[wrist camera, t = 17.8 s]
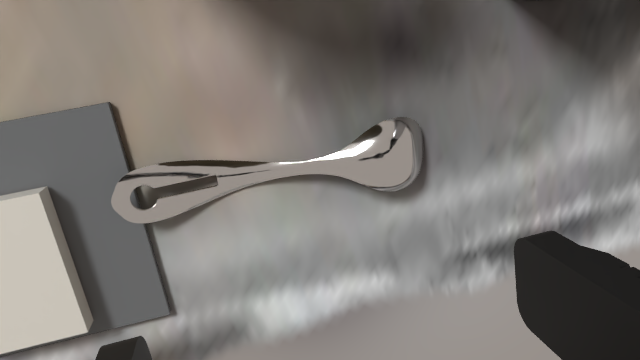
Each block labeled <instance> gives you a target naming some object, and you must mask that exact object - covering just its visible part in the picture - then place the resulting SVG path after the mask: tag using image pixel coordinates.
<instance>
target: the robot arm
mask: <svg viewBox="0 0 640 360" xmlns="http://www.w3.org/2000/svg"><path fill="white" fill-rule="evenodd" d="M538 1H539V0H538ZM514 259H515V275H516V291H517V304H518V308H519V312H520V314H521V317H522V319H523V321H524V322H525V324H526V326H527V327H528V328H529V329H530V330H531V331H532V332H533V333H534V334H535V335H536V336H537V337H538V338H539V339H540V340H542V342H544V343H545V344H546V345H547V346H548V347H549V348H550V349H551V350H552V351H553V352H554V353H555V354H557V355H558V356H559V357H560V358H561V359H562V360H640V270H638V269H637V268H634V267H630V266H629V264H627V263H625V262H624V261H622V260H620V259H618V258H616V257H614V256H612V255H611V254H609V253H605V252H602V251H598V250H595V249H591V248H588V247H584V246H580V245H578V244H576V243H575V242H573V241H571V240H569V239H567V238H566V237H564V236H562V235H560V234H559V233H557V232H555V231H547V232H543V233H539V234H535V235H531V236H528V237H524V238H520V239H518V240H517V241H516V243H515V246H514ZM95 360H152V357H151V354H150V351H149V348H148V346H147V343H146V341H145V339H144V338H143V337H142V336H139V337H135V338H131V339H127V340H123V341H119V342H115V343H112V344H108V345H104V346H102V347H101V348H100V349H99V352H98V354H97V357H96V359H95Z"/></svg>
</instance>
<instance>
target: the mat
mask: <svg viewBox="0 0 640 360" xmlns="http://www.w3.org/2000/svg"><path fill="white" fill-rule="evenodd" d="M129 172H130V169H129V166H128V162H127V159H126V155H125V152H124V149H123V145H122V142H121V138H120V135H119V131H118V128H117V125H116V121H115V118H114V114H113V111H112V107H111V104H110V102H107V103H102V104H97V105H91V106H86V107H80V108H75V109H69V110H64V111H59V112H53V113H48V114H42V115H37V116H31V117H26V118H21V119H15V120H10V121H4V122H0V196H2V195H7V194H12V193H16V192H21V191H26V190H31V189H36V188H41V187H46V186H47V187H48V190H49V193H50V196H51V199H52V202H53V205H54V207H55V210H56V213H57V216H58V219H59V222H60V225H61V228H62V231H63V233H64V236H65V239H66V242H67V245H68V248H69V251H70V254H71V257H72V259H73V262H74V265H75V268H76V271H77V274H78V277H79V280H80V282H81V285H82V288H83V291H84V294H85V297H86V300H87V303H88V306H89V308H90V311H91V314H92V317H93V322H92V325H91V327H90V329H89V331H88V333H84V334H80V335H75V336H71V337H67V338H63V339H59V340H55V341H51V342H47V343H43V344H39V345H35V346H31V347H27V348H23V349H19V350H15V351H11V352H7V353H3V354H0V357H2V356H6V355H10V354H14V353H18V352H22V351H26V350H30V349H34V348H38V347H42V346H46V345H50V344H54V343H58V342H62V341H66V340H70V339H74V338H78V337H82V336H86V335H90V334H94V333H98V332H102V331H106V330H110V329H114V328H118V327H122V326H126V325H130V324H134V323H138V322H142V321H146V320H150V319H154V318H158V317H162V316H166V315H170V312H171V310H170V306H169V303H168V300H167V296H166V293H165V289H164V286H163V282H162V279H161V276H160V272H159V269H158V265H157V262H156V258H155V255H154V252H153V248H152V245H151V241H150V238H149V234H148V231H147V228H146V224H145V223H143V224H139V223H132V222H129V221H127V220H125V219H124V218H123V217H122V216H120V215H119V214H118V213H117V212H116V211H115V210H114V209H113V207H112V205H111V196H112V193H113V190H114V188H115V185H116V183H117V182H118V181H119V179H120V178H122V177H123V176H124V175H126V174H127V173H129ZM131 202H132V204H133V205H134V206H135V207H137V208H139V209H141V207H140V204H139V200H138V197H137V193H136V190H135V189H134V190H133V191H132V193H131Z"/></svg>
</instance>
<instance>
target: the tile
mask: <svg viewBox="0 0 640 360" xmlns="http://www.w3.org/2000/svg"><path fill="white" fill-rule="evenodd" d="M92 322H93V317H92V314H91V311H90V308H89V306H88V303H87V300H86V297H85V294H84V291H83V288H82V285H81V282H80V280H79V277H78V274H77V271H76V268H75V265H74V262H73V259H72V257H71V254H70V251H69V248H68V245H67V242H66V239H65V236H64V233H63V231H62V228H61V225H60V222H59V219H58V216H57V213H56V210H55V207H54V205H53V202H52V199H51V196H50V193H49V190H48V187H47V186H46V187H41V188H36V189H31V190H26V191H21V192H16V193H12V194H7V195H2V196H0V354H3V353H7V352H11V351H15V350H19V349H23V348H27V347H31V346H35V345H39V344H43V343H47V342H51V341H55V340H59V339H63V338H67V337H71V336H75V335H80V334H84V333H88V331H89V329H90V327H91V325H92Z"/></svg>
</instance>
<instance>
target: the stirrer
mask: <svg viewBox="0 0 640 360" xmlns="http://www.w3.org/2000/svg"><path fill="white" fill-rule="evenodd" d="M422 163H423V136H422V131H421V128H420V126H419V124H418V123H417V122H416V121H415V120H414V119H411V118H407V117H397V118H392V119H388V120H385V121H383V122H380V123H378V124H377V125H375V126H373V127H372V128H370V129H369V130H367V131H366V132H365V133H363V134H362V135H361V136H359V137H358V138H357V139H356V140H354V141H353V142H352V143H351V144H349V145H348V146H346V147H345V148H343V149H342V150H340V151H338V152H336V153H334V154H332V155H329V156H326V157H323V158H319V159H315V160H309V161H301V162H251V161H224V160H193V161H175V162H166V163H159V164H153V165H149V166H145V167H141V168H138V169H136V170H133V171H131V172H129V173H127V174H126V175H124V176H123V177H122V178H120V179H119V181H118V182H117V183H116V185H115V188H114V190H113V193H112V196H111V205H112V207H113V209H114V210H115V211H116V212H117V213H118V214H119V215H120V216H122V217H123V218H124V219H125V220H127V221H129V222H132V223H139V224H143V223H152V222H157V221H161V220H164V219H167V218H170V217H173V216H176V215H179V214H181V213H184V212H186V211H189V210H191V209H193V208H196V207H198V206H200V205H203V204H205V203H207V202H210V201H212V200H214V199H216V198H219V197H221V196H224V195H226V194H229V193H231V192H234V191H236V190H239V189H242V188H245V187H248V186H251V185H254V184H257V183H261V182H265V181H269V180H273V179H278V178H283V177H289V176H296V175H305V174H326V175H334V176H340V177H344V178H347V179H350V180H352V181H355V182H357V183H360V184H362V185H365V186H367V187H370V188H373V189H376V190H380V191H397V190H400V189H403V188H405V187H407V186H409V185H410V184H411V183H413V182H414V181H415V179H416V178H417V177H418V175H419V173H420V170H421V167H422ZM214 175H216V177H217V182H218V185H215V186H211V187H206V188H202V189H197V190H192V191H188V192H183V193H179V194H174V195H170V196H165V197H161V198H158V199H157V201H156V203H155V204H154V205H153V206H152V207H150V208H148V209H139V208H137V207H135V206H134V205H133V204H132V202H131V193H132V191H133V190H134V189H135V188H137V187H139V186H142V185H147V186H150V187H152V188H158V187H162V186H167V185H172V184H176V183H181V182H186V181H190V180H195V179H200V178H204V177H209V176H214Z"/></svg>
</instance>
